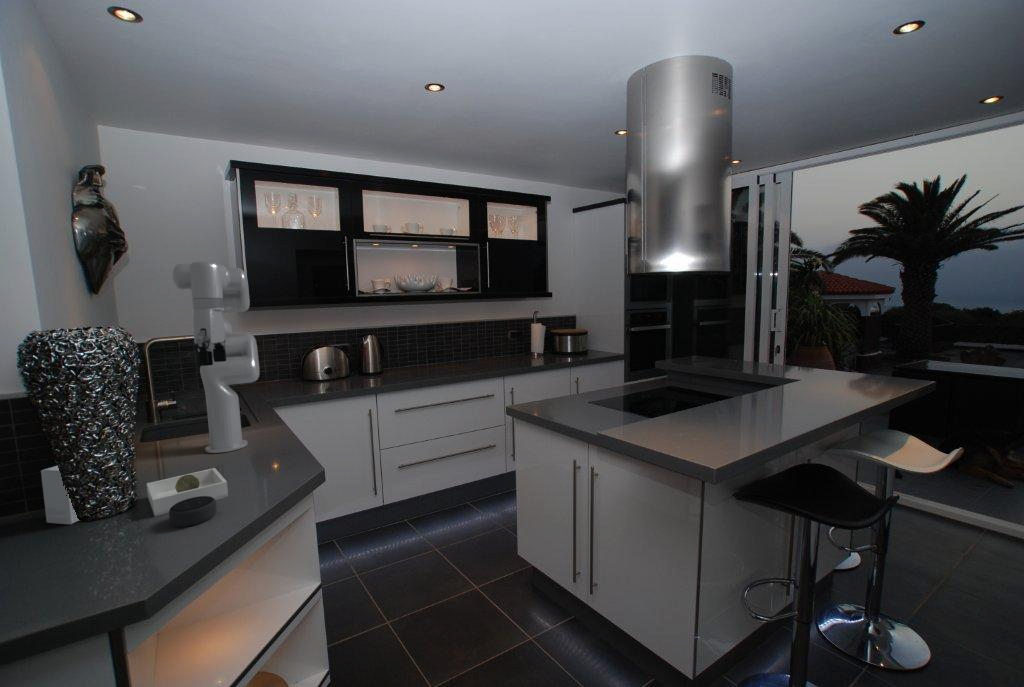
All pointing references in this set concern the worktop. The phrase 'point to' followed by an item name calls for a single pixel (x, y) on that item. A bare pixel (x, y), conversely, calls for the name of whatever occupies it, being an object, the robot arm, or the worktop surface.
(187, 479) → the lime
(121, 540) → the worktop surface
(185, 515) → the smart speaker
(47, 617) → the worktop surface
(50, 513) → the grey tall block
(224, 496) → the bin
